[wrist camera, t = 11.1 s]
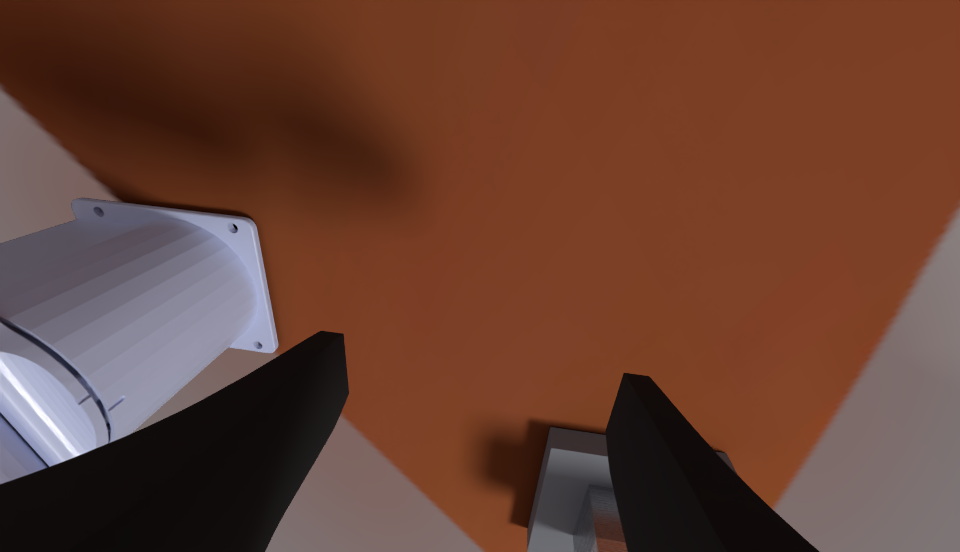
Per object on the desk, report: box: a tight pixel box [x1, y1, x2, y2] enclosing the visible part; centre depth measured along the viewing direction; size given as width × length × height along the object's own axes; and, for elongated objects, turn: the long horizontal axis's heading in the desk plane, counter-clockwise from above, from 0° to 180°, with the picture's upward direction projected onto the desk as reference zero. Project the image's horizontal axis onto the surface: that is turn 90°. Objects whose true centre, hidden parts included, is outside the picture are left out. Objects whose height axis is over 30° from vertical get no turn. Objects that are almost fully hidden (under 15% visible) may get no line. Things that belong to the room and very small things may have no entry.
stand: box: [527, 427, 737, 552], centre depth 25 cm, size 10×10×2 cm
